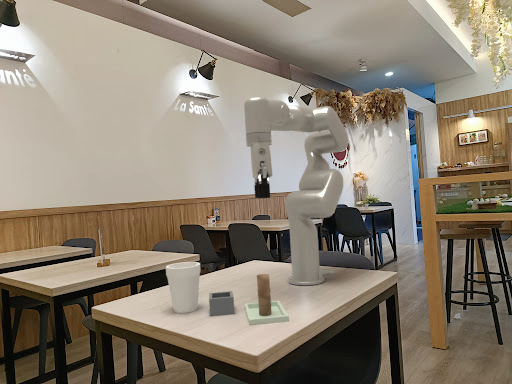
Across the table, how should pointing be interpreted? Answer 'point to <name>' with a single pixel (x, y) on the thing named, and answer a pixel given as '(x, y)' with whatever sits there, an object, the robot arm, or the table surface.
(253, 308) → the tray
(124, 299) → the table surface
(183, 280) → the foam cup
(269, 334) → the table surface
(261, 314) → the dowel
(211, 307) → the pen cup
